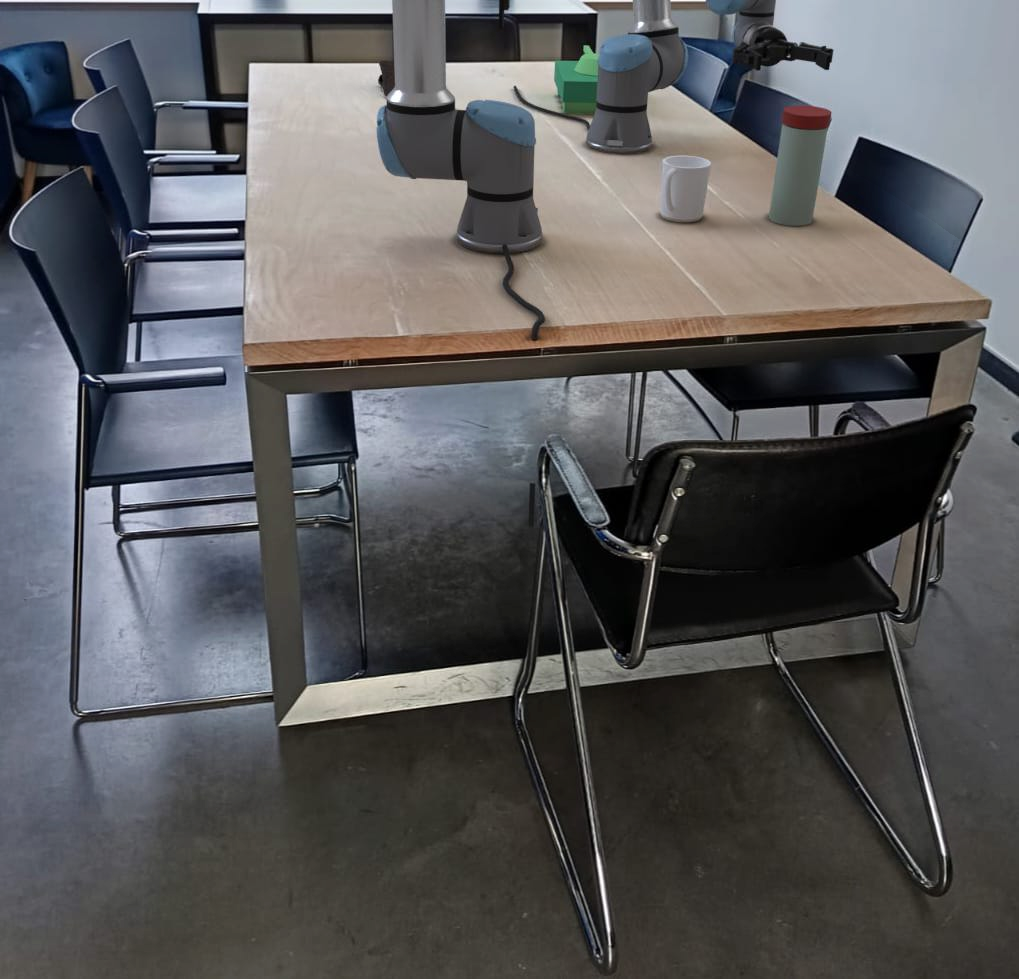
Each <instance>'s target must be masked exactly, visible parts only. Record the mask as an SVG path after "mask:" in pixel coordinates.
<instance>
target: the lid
mask: <svg viewBox="0 0 1019 979" xmlns="http://www.w3.org/2000/svg"><path fill="white" fill-rule="evenodd" d="M832 114H833V112H832V111H831V110H829V109H827V108H824V107H820V106H814V105H788V106H785V107H783V110H782V115H781V124H782V123H783V124H784V125H787V126H790V127H795V128H801V129H823V128H827V127H828V128H829V127H830V125H831V118H832Z"/></svg>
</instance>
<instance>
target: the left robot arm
mask: <svg viewBox="0 0 1019 979" xmlns="http://www.w3.org/2000/svg"><path fill="white" fill-rule="evenodd" d="M391 4H392V5H391V6H392V7H391V8H392V9H391V10H392V34H393V36H392V37H393V39H392V40H393V61H394V68H395V87H394V89H393V90H392V91H391V92H390V93H389V94H388V96H386V104H384V105H383V106H381V107H379V109H378V111H377V115H376V138H377V147H378V151H379V156H380V159H381V162H382V164H383V166H384V168H385V170H386V171H387V172H388V173H389V174H390V175H391V176H393V177H400V178H407V179H408V178H409V179H411V180H417V179H422V180H423V179H426V180H442V181H443V180H445V181H461V182H464V181H465V182H466V192H467V193H466V198H465V202H464V205H463V209H462V211H461V214H460V218H459V220H458V224H457V228H456V241H457V243H458V244H459V245H461V246H462V247H464V248H466V249H468V250H470V251H475V252H479V253H486V254H497V255H499V254H500V255H504V258H505V262H506V264H507V268H508V270H507V272H506V274H505V276H504V277H503V279H502V287H503V288H504V291H505V292H506V293H507V294H508V295H509V297H511V298H512V299H513V300H514V301H516V302H517V303H518V304H519V306H521V307H523V308H524V309H527V310H528V311H530V312H532V314H534V315H536V316H537V320H536V321H535V322H534V323H533V325H532V328H531V336H530V338H531V339H530V340H531V341H532V342H537V341H538V336H539V335H538V334H539V330H540V327H541V326H542V325H543V324H544V323H545V321H546V317H545V314H544V313H543V312H542V310H540V309H539V308H538V307H537V306H535V305H533V304H532V303H530V302H528V301H527V300H525V299H524V298H522V297H521V295H519V294H518V293H517V292H516V291H515V290H514V289H512V287H511V286H510V284H509V281H510V280H511V278H512V277H513V275H514V271H515V265H514V262H513V259H512V256H511V254H517V253H524V252H527V251H530V250H533V249H536V248H538V247H539V246H540V245H541V244H542V243H543V229H542V224H541V221H540V220H541V219H540V218H539V214H538V213H539V212H538V211H539V209H538V207H537V206H536V204H535V199H534V183H535V181H534V180H535V148H536V147H535V146H536V144H537V139H536V128H535V127H536V123H535V118H534V116H533V114H532V113H530V112H529V111H528V110H527V109H525V108H524V107H522V106H519V105H517V104H514V103H510V102H505V101H499V100H492V99H485V100H483V99H476V100H471V101H469V102H468V104H467V106H466V107H465V109H457V108H456V97H455V95H454V94H453V93H452V92H451V91H450V90H449V89H448V87H447V64H446V63H447V61H446V60H447V57H446V56H447V54H446V53H447V49H446V44H447V43H446V42H447V41H446V0H391ZM510 7H511V0H498V29H502V30H503V28H505V11H509V10H510ZM528 495H529V496H528V520H527V521H528V524H527V525H528V527H532V528H533V527H535V509H536V508H535V507H536V504H535V503H536V483H535V482H529V494H528Z"/></svg>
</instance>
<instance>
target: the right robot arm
mask: <svg viewBox="0 0 1019 979" xmlns="http://www.w3.org/2000/svg"><path fill="white" fill-rule="evenodd" d="M776 2H777V0H705V3H706V6H707V8H708V9H709V11H711V12H712V13H714V14H716V15H719V16H722V15H723V16H727V15H730V16H731V15H734V14H737V13H738V17H737V18H738V19H737V22H736V24H735V25H734V26H733V29H732V42H733V44H734V46H735V48H734V49H733V50H732V61H731V63H732V64H739V63H740V62H741V65H740V66H741V67H740V68H744V69H745V68H748V66H750V67H751V68H752V69H753V70H755V71H761V68H762V67H769V68H770V67H773V66H777V65H778V64H779V63H781V62H782V61H786V62H793V61H802V62H811V63H815V65H816V66H818V67H819V68H821V69H823V71H830V66H831V63H833V57H834V49H833V48H829V47H827V45H822V46H819V45H814V44H809V43H807V42H804V41H800V42H799V44H798V43H797V42H792V41H788V39H787V36H786V34H784V32H783V31H782V30H780V29H779V28H777V27H775V26H774V20H775V19H774V18H775V10H776ZM632 14H633V23H632V25H631V26H630V27H629V28H628V30H627V33H626V34H623V35H620V34H619V35H614V36H611V37H609V38H606V39H605V40H604V41H602V42H601V44H600V46H599V53H598V54H599V57H598V81H597V100H596V111H595V114H593V117H592V120H591V123H590V122H589V121H588V120H587V119H585V118H581V117H579V116H575V115H570V114H564V113H563V112H558V111H555V110H551V109H547V108H544V107H541V106H539V105H536V104H533V103H531V102H529V101H527V100H525V99H524V98H523V97H522V96H521V93H520V91H519V89H518V87H517V85H513V90H514V93H515V95H516V97H517V98H518V100H519V101H520V102H521V103H523V104H524V105H526V106H527V107H529V108H532V109H534V110H536V111H538V112H539V111H540V112H543V113H545V114H548V115H552V116H556V117H559V118H564V119H568V120H572V121H576V122H579V123H583V124H585V126H586V129H587V130H588V131H587V133H586V138H585V145H586V147H587V148H589V149H591V150H594V151H597V152H603V153H608V154H623V155H625V154H627V155H628V154H638V153H639V154H641V153H644V152H647V151H650V150H651V149H652V148H653V147H652V146H653V135H652V132H651V128H650V122H649V118H648V112H647V110H648V99H649V93H651V92H654V91H657V90H665V89H667V88H669V87H670V86H672V85H674V84H676V83H677V82H678V81H679V80H680V79H681V78H682V77H683V75H684V74H685V72H686V70H687V67H688V63H689V51H688V46H687V44H686V42H684V41H683V39H682V37H681V36H680V31H679V24H678V23H677V22H676V21H675V20H673V18H672V5H671V0H632Z"/></svg>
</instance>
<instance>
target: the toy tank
mask: <svg viewBox="0 0 1019 979" xmlns="http://www.w3.org/2000/svg"><path fill="white" fill-rule="evenodd" d="M598 57H599V53H594V52H593V50H592V49H591V47H590V45H586V44H585V45H583V55H581V57H580V58H579V60H554V73H553V74H554V75H553V81H554V83H555V87H556V89H557V90H556V91H557V92H556V94H557V97H560V101H561V103H562V114H566V115H570V114H571V115H574V114H575V115H594V114H595V111H596V100H597V81H598Z"/></svg>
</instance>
